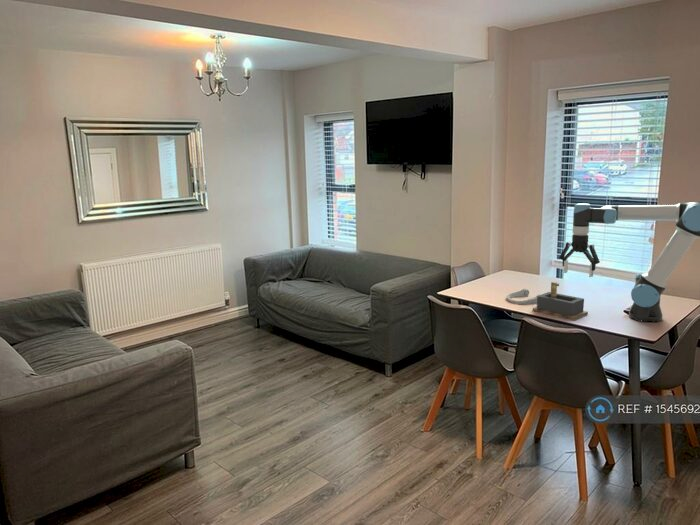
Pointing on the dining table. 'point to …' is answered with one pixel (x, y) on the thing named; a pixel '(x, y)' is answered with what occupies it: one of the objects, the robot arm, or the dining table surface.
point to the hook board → (553, 295)
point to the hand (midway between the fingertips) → (578, 274)
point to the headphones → (518, 294)
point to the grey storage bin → (560, 304)
